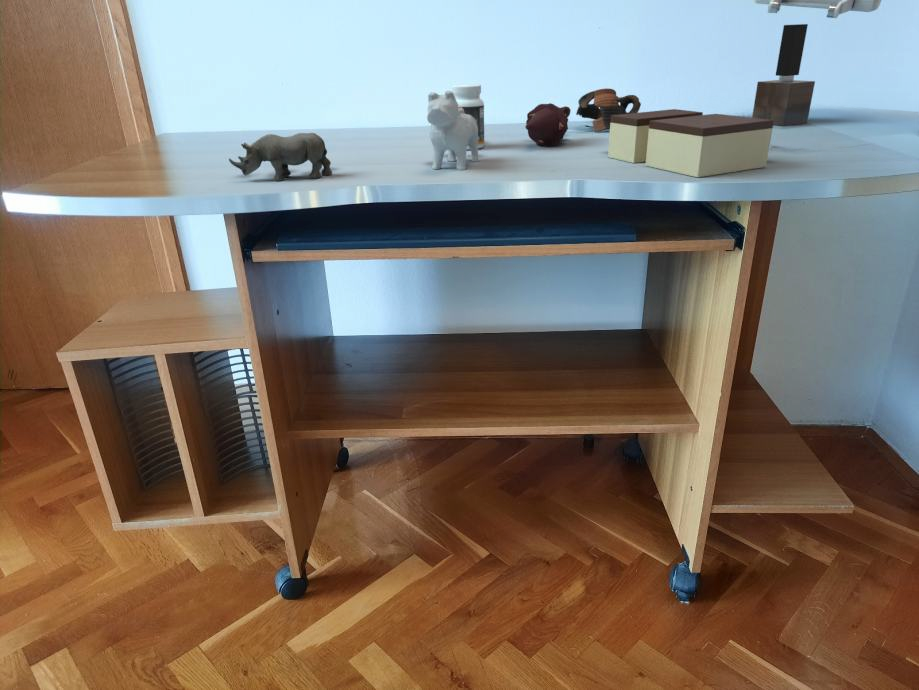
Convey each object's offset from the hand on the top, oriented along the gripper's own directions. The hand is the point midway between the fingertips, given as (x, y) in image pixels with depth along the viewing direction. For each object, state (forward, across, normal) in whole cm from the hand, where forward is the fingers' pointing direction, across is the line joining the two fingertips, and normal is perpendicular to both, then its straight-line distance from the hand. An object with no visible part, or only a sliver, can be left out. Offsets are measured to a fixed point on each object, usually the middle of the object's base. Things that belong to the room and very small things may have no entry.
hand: (801, 11), depth 107 cm
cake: (+44, +3, 0) cm, 44 cm away
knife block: (+7, +1, +18) cm, 19 cm away
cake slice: (+40, -7, +3) cm, 41 cm away
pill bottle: (+47, -37, +4) cm, 60 cm away
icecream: (+39, -26, +6) cm, 48 cm away
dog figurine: (+60, -28, -3) cm, 66 cm away
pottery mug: (+19, -26, +16) cm, 36 cm away
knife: (+6, +1, +17) cm, 18 cm away
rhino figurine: (+78, -44, -10) cm, 90 cm away
